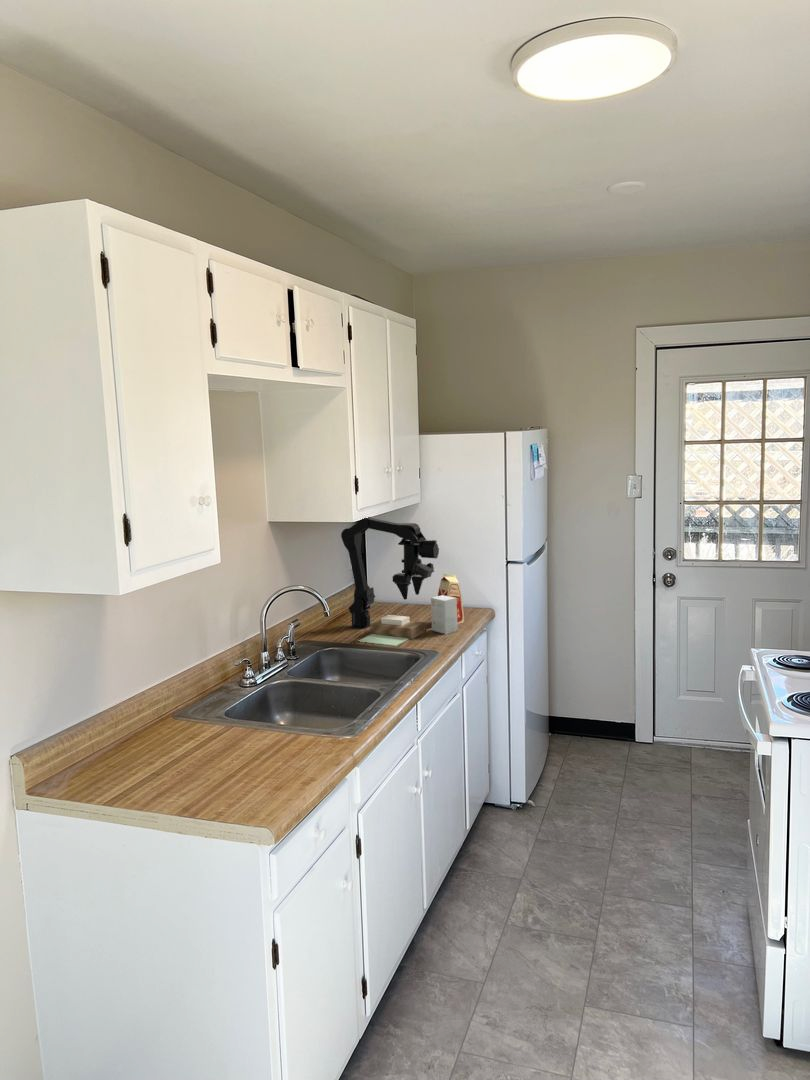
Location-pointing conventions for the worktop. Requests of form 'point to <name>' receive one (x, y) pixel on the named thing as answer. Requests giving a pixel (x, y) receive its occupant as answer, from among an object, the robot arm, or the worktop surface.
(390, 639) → the mat
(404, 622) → the cream white eraser block
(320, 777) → the worktop surface
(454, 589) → the milk carton
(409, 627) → the brown wooden block
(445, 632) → the small box
